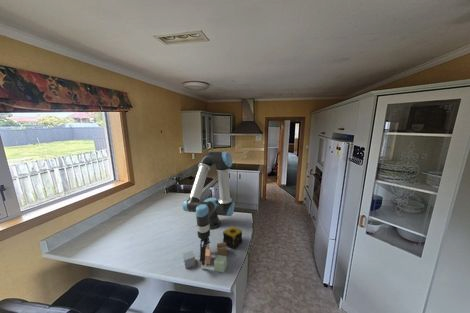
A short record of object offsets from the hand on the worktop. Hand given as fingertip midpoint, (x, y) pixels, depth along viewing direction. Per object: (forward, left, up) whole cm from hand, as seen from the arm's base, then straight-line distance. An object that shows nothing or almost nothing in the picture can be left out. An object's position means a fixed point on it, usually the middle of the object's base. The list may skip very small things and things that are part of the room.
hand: (205, 260), depth 114 cm
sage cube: (+6, +10, -1) cm, 12 cm away
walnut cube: (-6, +10, -1) cm, 12 cm away
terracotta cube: (0, 0, -1) cm, 1 cm away
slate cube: (+2, -10, -1) cm, 10 cm away
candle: (-16, +17, -1) cm, 23 cm away
